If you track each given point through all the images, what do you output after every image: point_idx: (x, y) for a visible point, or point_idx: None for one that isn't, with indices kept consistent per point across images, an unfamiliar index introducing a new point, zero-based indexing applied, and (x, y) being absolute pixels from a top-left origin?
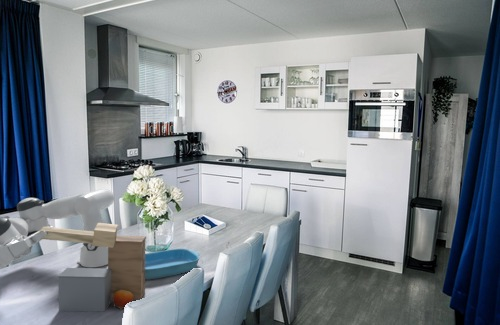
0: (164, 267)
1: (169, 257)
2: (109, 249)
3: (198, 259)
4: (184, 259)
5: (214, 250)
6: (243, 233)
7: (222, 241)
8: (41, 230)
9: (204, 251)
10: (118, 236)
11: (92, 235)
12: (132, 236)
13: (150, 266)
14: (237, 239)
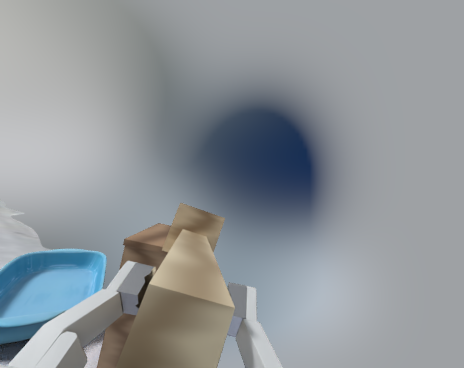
0: (103, 281)
1: (10, 280)
2: None
3: (100, 253)
4: (37, 270)
5: (32, 246)
6: (2, 219)
7: (3, 234)
8: (232, 301)
9: (20, 252)
10: (140, 236)
11: (206, 237)
12: (152, 228)
13: (4, 314)
14: (19, 227)
